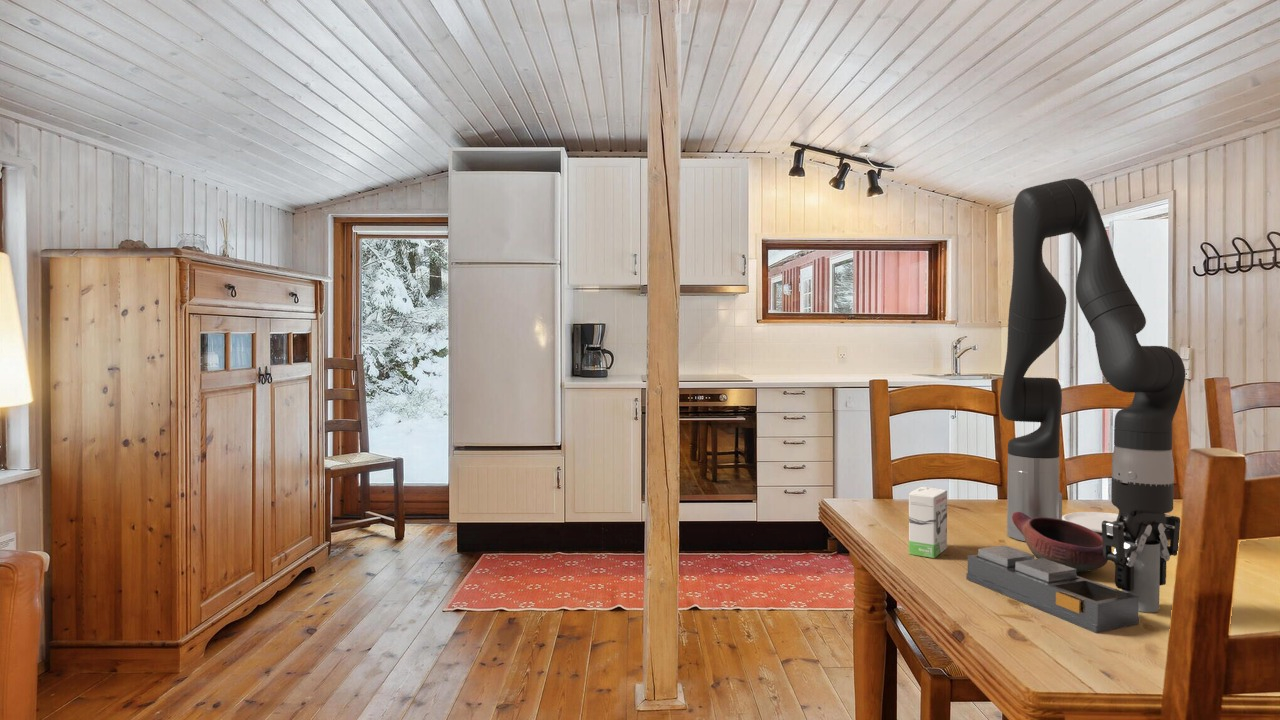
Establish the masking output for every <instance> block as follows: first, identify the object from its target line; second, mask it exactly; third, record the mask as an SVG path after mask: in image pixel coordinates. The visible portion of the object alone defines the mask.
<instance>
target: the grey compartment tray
mask: <svg viewBox="0 0 1280 720" xmlns="http://www.w3.org/2000/svg"><path fill="white" fill-rule="evenodd" d="M977 550H978V552H977V553H976V554H971V555H967V572H966V575H965V576H966V580H968V581H970V582H972V583H975V584H977V585H979V586H982V587H985V588H986V589H989V590H991V591H993V592H996V593H999V594H1002V595H1003V596H1006V597H1008V598H1010V599H1014V600H1015V601H1018V602H1021V603H1022V604H1025V603H1026V604H1025V605H1027V604H1028V606H1029V607H1033V608H1034V609H1037V610H1040V611H1042V612H1045V613H1046V614H1050V615H1052V616H1054V617H1057V618H1059V619H1061V620H1064V621H1066V622H1069V623H1071V624H1074V625H1076V626H1079V627H1080V628H1083V629H1085V630H1089V631H1090V632H1092V633H1095V634H1098V633H1102V632H1103V633H1104V632H1107V631H1113V630H1117V629H1122V628H1128V627H1133V626H1138V625H1140V616H1139V611H1138V596H1135V595H1132V594H1129V593H1126V592H1123V591H1122V590H1121V589H1117V588H1114V587H1110V586H1108V585H1105V584H1101V583H1099V582H1096V581H1094V580H1091V579H1088V578H1084V577H1083V576H1082V577H1081V576H1079V575H1077V572H1076V571H1077V569H1074V568H1071V567H1068V566H1065V565H1062V564H1059V563H1056V562H1053V561H1050V560H1047V559H1044V558H1039V559H1038V558H1035V556H1034V554H1033V553H1028V552H1025V551H1023V550H1019V549H1017V548H1014V547H1010V546H1007V545H1005V544H1004V545H997V546H990V547H982V548H978V549H977Z"/></svg>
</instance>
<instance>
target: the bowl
mask: <svg viewBox="0 0 1280 720" xmlns="http://www.w3.org/2000/svg"><path fill="white" fill-rule="evenodd" d="M1012 520H1013V523H1014V524H1015V526H1016V527H1017V528H1018V529H1019V531H1020V532H1021V533H1022V534H1023V536H1024V538H1025V541H1024V542H1025V543H1026V545H1027V547H1028V549H1029V550H1030V552H1031V554H1032V555H1034V558H1035V557H1036V559H1039V558H1044V559H1047V560H1050V561H1053V562H1056V563H1059V564H1062V565H1065V566H1068V567H1071V568H1074V569H1077V571H1076V573H1083V572H1091V571H1095V570H1099V569H1101V568H1103V567H1104V566H1105V565H1106V564H1107V563H1108V562H1109V560H1106V559H1104V557H1103V541H1102V534H1098V533H1096V532H1094V531H1092V530H1090V529H1088V528H1086V527H1084V526H1081V525H1079V524H1075V523H1072V522H1069V521H1065V520H1061V519H1055V518H1047V517H1037V518H1032V519H1031V518H1030V517H1028V516H1027V515H1025V514H1024V513H1021V512H1015V513H1013V516H1012Z"/></svg>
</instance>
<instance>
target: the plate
mask: <svg viewBox="0 0 1280 720" xmlns="http://www.w3.org/2000/svg"><path fill="white" fill-rule="evenodd" d="M1118 514H1119V513H1114V512H1112V513H1111V512H1100V511H1076V512H1070V513H1066V514H1064V515H1062V520H1065V521H1069V522H1072V523H1075V524H1079V525H1081V526H1084V527H1086V528H1088V529H1090V530H1092V531H1094V532H1096V533H1098V534H1099V535H1102V522H1103V521H1109V522H1113V521H1117V517H1118Z"/></svg>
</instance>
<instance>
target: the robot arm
mask: <svg viewBox="0 0 1280 720" xmlns="http://www.w3.org/2000/svg"><path fill="white" fill-rule="evenodd" d="M1070 233H1072V234H1073V235H1074V237H1075V238H1076V239H1077V242H1078V244H1079V246H1080V250H1081V251H1080V253H1081V254H1080V263H1079V267H1078V272H1077V276H1076V277H1077V278H1076V282H1075V295H1076V300H1077V303H1078V305H1079V307H1080V309H1081V311H1082V312H1081V313H1083V315H1084V317H1085V319H1086V321H1087V323H1088V325H1089V326H1090V328H1091V331H1092V332H1093V334H1094V336H1093V337H1094V343H1095V347H1096V355H1097V359H1098V364H1099V369H1100V371H1101V373H1102V375H1103V378H1104V379H1105V380H1106V382H1108V384H1109V385H1111V386H1112V387H1113V388H1114V389H1116V390H1118V391H1120V392H1124V393H1130V394H1131V393H1132V394H1133V393H1134V395H1133V399H1132V402H1131V404H1129V406H1127V407H1123V408H1122V409H1120V410H1118V411H1117V412H1116V414H1115V416H1114V426H1113V427H1114V429H1113V431H1114V432H1113V435H1114V436H1113V445H1114V446H1113V451H1112V452H1113V453H1112V458H1111V499H1110V500H1111V503H1112V504H1111V505H1113V506H1114V507H1116V509H1118V513H1117V514H1118V517H1117V521H1113V522H1109V521H1103V522H1102V534H1101V536H1102V541H1103V557H1104V559H1106V560H1108V561H1110V562H1113V564H1114V565H1115V566H1114V567H1115V569H1114V582H1115V586H1116V589H1117V588H1118V590H1121V591H1122V590H1125V591H1133V589H1134V567H1132V566H1133V564H1134V561H1135V559H1136V556H1137V554H1140V553H1141V552H1142V550H1143V547H1144V544H1155V542H1156V541H1159V542H1160V586H1165V585H1166V583H1167V562H1169V561H1170V559H1171V557H1172V556H1174V557H1176V556H1178V554H1177V551H1178V552H1179V546H1178V543H1180V531H1181V518H1180V517H1179V516H1175V515H1171V514H1169V513H1171V512H1172V511H1173V510H1174V492H1175V491H1174V488H1175V487H1174V485H1175V483H1174V482H1175V481H1174V479H1175V475H1174V472H1175V465H1174V464H1175V463H1174V457H1173V450H1172V449H1173V420H1174V417H1175V415H1176V412H1177V410H1178V407H1179V404H1180V400H1181V397H1182V393H1183V390H1184V387H1185V381H1186V369H1185V364H1184V361H1183V360H1182V358H1181V356H1180V354H1179V353H1178V352H1177V351H1175V350H1174V349H1172V348H1170V347H1167V346H1163V345H1141V344H1140V342H1139V340H1138V337H1137V334H1139V333H1140V332H1141V331H1143V330H1144V328H1145V327H1146V324H1147V319H1146V318H1147V317H1146V316H1145V313H1144V311H1143V310H1142V308H1141V306H1140V304H1139V303H1138V301H1137V299H1136V297H1135V295H1134V294H1133V292H1132V291H1131V288H1130V287H1129V285H1128V284H1127V281H1126V279H1125V278H1124V276H1123V274H1122V272H1121V269H1120V267H1119V265H1118V262H1117V261H1116V257H1115V254H1114V251H1113V248H1112V245H1111V242H1110V238H1109V235H1108V232H1107V230H1106V227H1105V224H1104V221H1103V218H1102V216H1101V213H1100V210H1099V208H1098V205H1097V202H1096V199H1095V198H1094V195H1093V192H1092V191H1091V189H1090V188H1089V187H1088V185H1087V184H1086V183H1085V182H1084V181H1083V180H1081V179H1079V178H1076V177H1075V178H1066V179H1060V180H1056V181H1051V182H1047V183H1041V184H1038V185H1034V186H1029V187H1026V188H1023V189H1022V190H1020V191H1019V192H1018V193H1017V195H1016V197H1015V201H1014V204H1013V210H1012V245H1013V248H1012V250H1013V251H1012V252H1013V262H1012V263H1013V266H1012V267H1013V269H1012V280H1011V281H1012V282H1011V292H1010V300H1009V308H1008V318H1007V319H1008V320H1007V322H1008V323H1007V324H1008V325H1007V346H1006V357H1005V364H1004V369H1003V376H1002V380H1001V386H1000V387H1001V388H1000V394H999V395H1000V396H999V409H1000V413H1001V416H1002V417H1003V418H1004V419H1005V420H1007V421H1012V422H1020V423H1021V422H1023V423H1024V422H1025V423H1040V426H1039V427H1038V428H1037V429H1036V430H1033V431H1032V432H1030V433H1028V434H1025V435H1021V436H1018V437H1014V438H1011V439H1010V440H1008V442H1007V489H1006V490H1007V492H1006V493H1007V498H1006V499H1007V501H1006V502H1007V503H1006V504H1007V505H1006V510H1007V511H1006V534H1007V536H1008V537H1010V538H1012V539H1014V540H1019V541H1022V542H1026V541H1025V538H1024V536H1023V534H1022V533H1021V532H1020V531H1019V529H1018V528H1017V527H1016V526H1015V524H1014V523H1013V520H1012V516H1013V513H1015V512H1021V513H1024V514H1025V515H1027V516H1028V517H1030V518H1031V519H1032V518H1037V517H1047V518H1055V519H1061V520H1062V516H1063V494H1062V492H1060V435H1061V433H1060V431H1061V418H1062V417H1061V416H1062V403H1063V402H1062V401H1063V396H1062V395H1063V393H1062V392H1063V391H1062V386H1061V384H1060V382H1059V381H1058V379H1056V378H1054V377H1029V376H1028V377H1025V375H1026V373H1027V372H1028V370H1029V368H1030V367H1031V365H1033V363H1034V362H1035V361H1036V360H1037V359H1039V357H1040V356H1041V355H1042V354H1044V353H1045V351H1047V350H1048V349H1049V348H1050V347H1051V346H1053V344H1054V343H1055V342H1056V341H1057V340H1058V338H1059V337H1060V335H1061V334H1062V332H1063V329H1064V326H1065V325H1064V324H1065V317H1066V310H1067V297H1066V293H1065V291H1064V289H1063V287H1062V286H1061V285H1060V284H1059V282H1058V281H1057V280H1056V278H1055V277H1054V276H1053V275H1052V273H1051V272H1050V271H1049V269H1048V268H1047V266H1046V264H1045V262H1044V259H1043V245H1044V241H1045V239H1048V238H1052V237H1057V236H1061V235H1066V234H1070ZM1124 539H1125V540H1126V541H1127V542H1131V543H1134V545H1129V544H1126V543H1124ZM1168 539H1169V540H1170V541H1168ZM1112 548H1114V551H1112V550H1113V549H1112ZM1125 550H1127V551H1129V552H1128V555H1127V557H1125Z"/></svg>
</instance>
